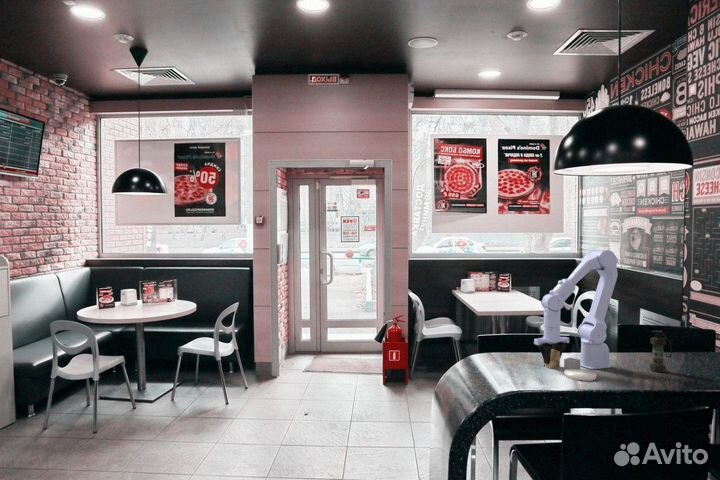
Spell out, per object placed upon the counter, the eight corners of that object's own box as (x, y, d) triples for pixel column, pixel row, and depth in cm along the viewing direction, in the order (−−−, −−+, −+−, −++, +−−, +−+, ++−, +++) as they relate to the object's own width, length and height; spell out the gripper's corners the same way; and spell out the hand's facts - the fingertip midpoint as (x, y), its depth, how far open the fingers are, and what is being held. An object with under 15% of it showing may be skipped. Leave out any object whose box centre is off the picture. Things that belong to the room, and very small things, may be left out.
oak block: (552, 365, 180) (552, 349, 181) (559, 367, 177) (559, 351, 177) (543, 365, 179) (543, 349, 179) (551, 368, 175) (551, 352, 175)
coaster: (580, 371, 171) (580, 367, 171) (603, 379, 162) (603, 375, 162) (558, 374, 168) (558, 369, 168) (579, 382, 158) (579, 377, 158)
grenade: (669, 370, 174) (670, 329, 174) (672, 374, 169) (673, 332, 169) (649, 368, 177) (649, 328, 177) (651, 372, 172) (651, 330, 172)
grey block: (569, 368, 176) (569, 357, 176) (580, 370, 173) (580, 359, 173) (564, 370, 174) (564, 359, 174) (574, 372, 171) (574, 361, 171)
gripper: (559, 324, 184) (559, 359, 184) (528, 325, 179) (528, 361, 179) (573, 327, 178) (573, 363, 177) (541, 329, 173) (541, 366, 173)
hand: (551, 362), depth 178 cm, fingers closed on oak block, 4 cm apart
